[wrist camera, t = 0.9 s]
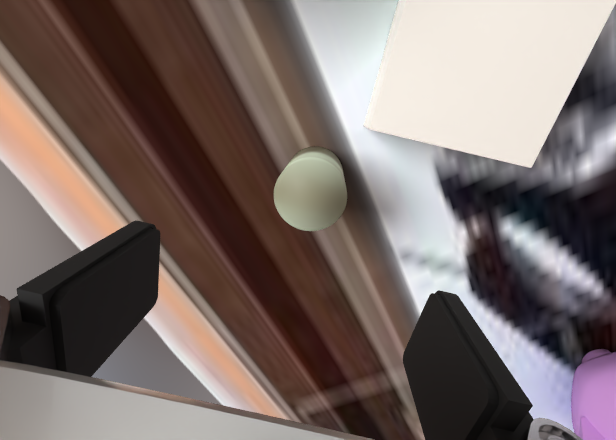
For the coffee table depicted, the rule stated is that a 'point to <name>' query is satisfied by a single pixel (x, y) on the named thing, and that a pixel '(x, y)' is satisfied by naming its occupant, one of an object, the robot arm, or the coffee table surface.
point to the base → (483, 72)
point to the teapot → (595, 396)
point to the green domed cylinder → (311, 190)
